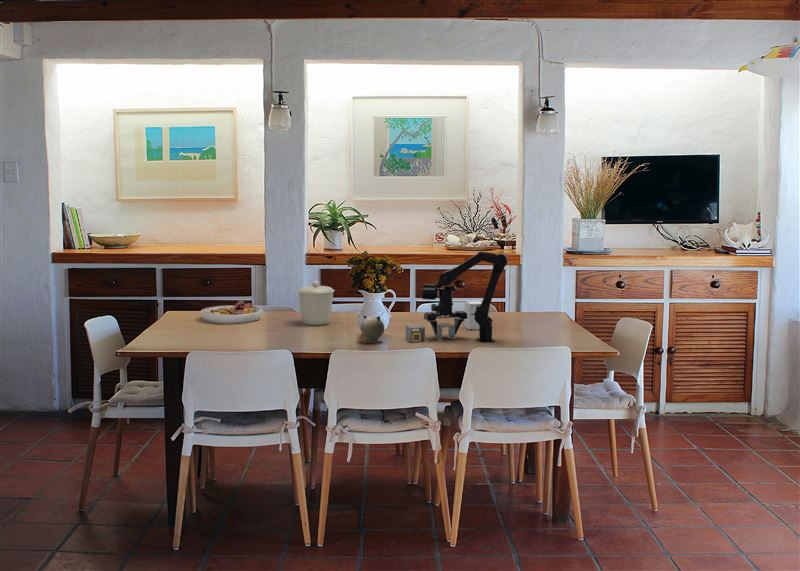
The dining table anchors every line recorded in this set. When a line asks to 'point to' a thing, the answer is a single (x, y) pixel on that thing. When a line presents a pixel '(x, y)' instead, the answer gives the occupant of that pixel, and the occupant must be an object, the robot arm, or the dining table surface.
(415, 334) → the letter cube
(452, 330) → the cover
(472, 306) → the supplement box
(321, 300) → the canister
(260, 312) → the bowl
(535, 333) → the dining table surface
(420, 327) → the cover
